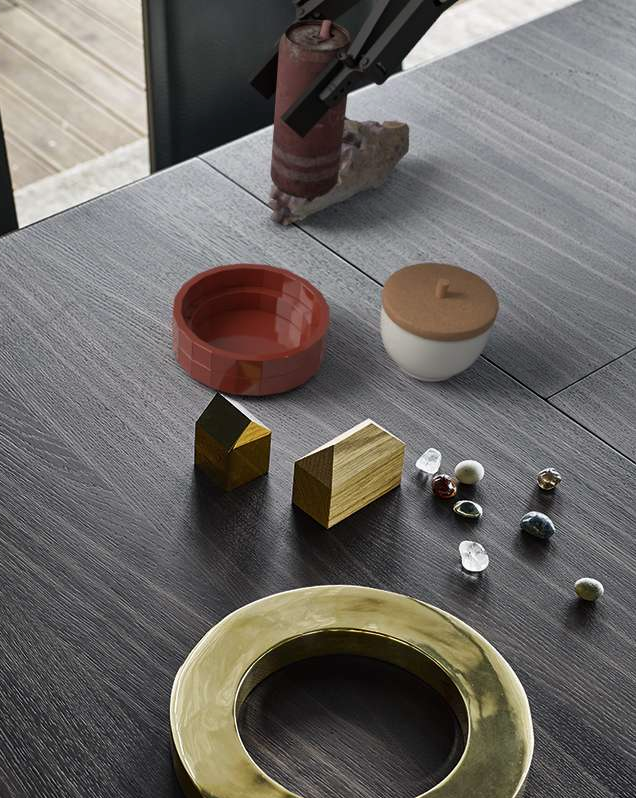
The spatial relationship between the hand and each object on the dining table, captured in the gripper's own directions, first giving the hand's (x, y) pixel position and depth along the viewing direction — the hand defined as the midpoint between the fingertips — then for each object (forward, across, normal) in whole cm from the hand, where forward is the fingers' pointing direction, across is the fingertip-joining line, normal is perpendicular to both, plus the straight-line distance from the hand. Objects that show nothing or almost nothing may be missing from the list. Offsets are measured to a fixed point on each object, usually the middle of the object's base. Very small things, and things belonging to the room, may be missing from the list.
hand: (274, 108), depth 107 cm
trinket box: (+7, -11, -26) cm, 29 cm away
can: (+3, 0, -8) cm, 9 cm away
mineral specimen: (+4, +18, -30) cm, 35 cm away
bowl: (+18, -4, -14) cm, 24 cm away
